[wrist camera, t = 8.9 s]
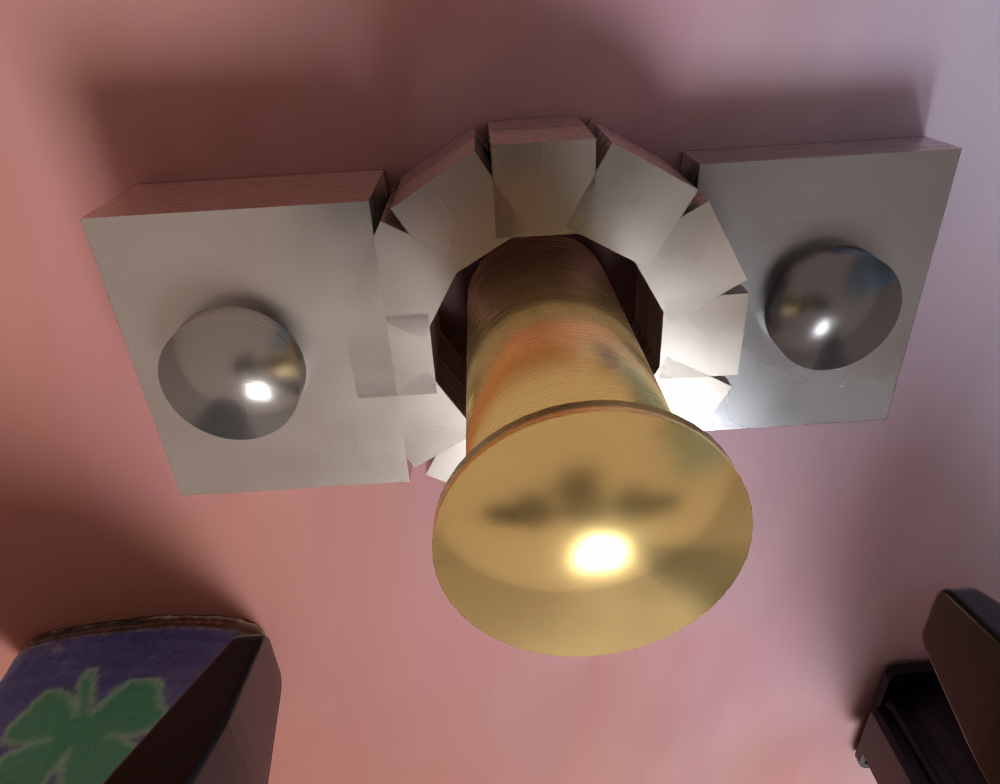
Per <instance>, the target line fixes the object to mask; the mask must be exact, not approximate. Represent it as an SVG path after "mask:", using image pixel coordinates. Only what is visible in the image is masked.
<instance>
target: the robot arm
mask: <svg viewBox="0 0 1000 784" xmlns="http://www.w3.org/2000/svg"><path fill="white" fill-rule="evenodd" d="M922 637H923V643H924V647H925V649H926V652H927V654H928V656H929V658H930V661H931V663H916V664H901V665H894V666H892V667H890V668H888V669H887V670H886V671H885V672H884V674H883V677H882V680H881V683H880V685H879V688H878V691H877V694H876V697H875V699H874V702H873V705H872V708H871V711H870V713H869V716H868V719H867V722H866V725H865V727H864V730H863V733H862V736H861V739H860V741H859V744H858V747H857V750H856V753H855V757H856V759H857V761H858V763H859V765H860V766H861V767H863V768H870V769H871V771H872V773H873V775H874V777H875V779H876V781H877V783H878V784H1000V603H999V602H998V601H996V600H994V599H993V598H991V597H989V596H988V595H986V594H985V593H983V592H981V591H979V590H977V589H975V588H971V587H957V588H944V589H941V590H940V591H939V592H938V593H937V594H936V596H935V598H934V601H933V603H932V606H931V608H930V611H929V614H928V616H927V619H926V621H925V624H924V627H923V632H922ZM280 696H281V673H280V670H279V667H278V664H277V661H276V658H275V655H274V652H273V648H272V645H271V642H270V640H269V638H268V637H267V636H266V635H265V634H253V635H240V636H237V637H235V638H233V639H232V640H231V641H230V642H229V643H228V644H227V645H226V646H225V647H224V648H223V649H222V651H221V652H220V653H219V654H218V655H217V656H216V657H215V658H214V659H213V661H212V662H211V663H210V664H209V665H208V666H207V667H206V668H205V670H204V671H203V672H202V673H201V674H200V675H199V676H198V677H197V678H196V680H195V681H194V682H193V683H192V684H191V685H190V686H189V687H188V688H187V690H186V691H185V692H184V693H183V694H182V695H181V696H180V697H179V699H178V700H177V701H176V702H175V703H174V704H173V705H172V706H171V707H170V709H169V710H168V711H167V712H166V713H165V714H164V715H163V716H162V717H161V719H160V720H159V721H158V722H157V723H156V724H155V725H154V726H153V728H152V729H151V730H150V731H149V732H148V733H147V734H146V735H145V736H144V738H143V739H142V740H141V741H140V742H139V743H138V744H137V745H136V746H135V748H134V749H133V750H132V751H131V752H130V753H129V754H128V755H127V757H126V758H125V759H124V760H123V761H122V762H121V763H120V764H119V765H118V767H117V768H116V769H115V770H114V771H113V772H112V773H111V774H110V775H109V777H108V778H107V779H106V780H105V781H104V782H103V783H102V784H268V780H269V773H270V766H271V759H272V752H273V745H274V738H275V731H276V724H277V717H278V710H279V703H280Z"/></svg>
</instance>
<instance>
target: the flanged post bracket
mask: <svg viewBox="0 0 1000 784" xmlns="http://www.w3.org/2000/svg"><path fill="white" fill-rule="evenodd" d="M488 135H489V149H488V148H487V146H486V144H485V143H484V141H483V140H482V138H481V136H480V135H479V133H478V132H477V130H476V129H475V127H474V126H473V127H472V128H470V129H469V130H467V131H466V132H465V133H463V134H462V135H460V136H459V137H457V138H456V139H455V140H453V141H452V142H450V143H449V144H447V145H446V146H445V147H443V148H442V149H440V150H439V151H437V152H436V153H435V154H433V155H432V156H430V157H429V158H427V159H426V160H425V161H423V162H422V163H420V164H419V165H417V166H416V167H415V168H413V169H412V170H410V171H409V172H407V173H406V174H405V175H403V176H402V178H401V181H400V184H399V186H398V189H397V188H395V187H393V189H392V192H391V194H390V196H389V199H387V191H386V184H385V176H384V169H383V170H367V171H350V172H334V173H317V174H301V175H284V176H268V177H252V178H235V179H219V180H202V181H186V182H169V183H153V184H138V185H136V186H135V187H133V188H131V189H130V190H128V191H126V192H124V193H123V194H121V195H119V196H118V197H116V198H114V199H113V200H111V201H109V202H107V203H106V204H104V205H102V206H101V207H99V208H97V209H96V210H94V211H92V212H91V213H89V214H87V215H85V216H84V217H82V218H80V220H81V222H82V225H83V228H84V231H85V233H86V236H87V239H88V242H89V244H90V247H91V250H92V253H93V255H94V258H95V261H96V264H97V266H98V269H99V272H100V274H101V277H102V280H103V283H104V285H105V288H106V291H107V294H108V296H109V299H110V302H111V305H112V307H113V310H114V313H115V316H116V318H117V321H118V324H119V327H120V329H121V332H122V335H123V338H124V340H125V343H126V346H127V348H128V351H129V354H130V357H131V359H132V362H133V365H134V368H135V370H136V373H137V376H138V379H139V381H140V384H141V387H142V390H143V392H144V395H145V398H146V401H147V403H148V406H149V409H150V411H151V414H152V417H153V420H154V422H155V425H156V428H157V431H158V433H159V436H160V439H161V442H162V444H163V447H164V450H165V453H166V455H167V458H168V461H169V464H170V466H171V469H172V472H173V475H174V477H175V480H176V483H177V485H178V488H179V491H180V494H181V496H187V495H203V494H218V493H234V492H250V491H265V490H281V489H297V488H312V487H328V486H344V485H360V484H375V483H391V482H407V481H410V476H411V468H412V465H413V466H414V467H417V466H419V465H421V464H422V463H424V462H426V461H427V464H426V475H428V476H431V477H433V478H436V479H439V480H441V481H444V482H447V480H448V479H449V477H450V476H451V474H452V473H453V471H454V470H455V468H456V467H457V466H458V464H459V463H460V462H461V461H462V460H463V459H464V458H465V456H466V375H467V364H466V363H465V362H464V360H463V359H462V358H461V356H460V355H459V354H458V352H457V351H456V350H455V349H454V347H453V346H452V345H451V343H450V342H449V341H448V340H447V338H446V337H445V336H444V334H443V333H442V332H441V330H440V324H439V315H438V309H439V307H440V305H441V303H442V301H443V299H444V297H445V295H446V293H447V291H448V289H449V287H450V285H451V283H452V281H453V279H454V277H455V275H456V273H457V272H459V271H460V270H462V269H463V268H465V267H467V266H468V265H470V264H471V263H473V262H474V261H476V260H478V259H479V258H481V257H482V256H484V255H485V254H487V253H488V252H490V251H492V250H493V249H495V248H496V247H498V246H499V245H501V244H503V243H504V242H506V241H507V240H509V239H510V238H513V237H530V236H546V235H562V234H581V235H583V236H585V237H587V238H589V239H591V240H593V241H595V242H597V243H599V244H601V245H602V246H604V247H606V248H608V249H610V250H612V251H614V252H616V253H618V254H620V255H622V256H624V257H626V258H628V259H630V260H632V261H634V263H635V265H636V267H637V285H636V304H635V318H634V320H633V321H632V323H631V324H630V326H631V328H632V330H633V332H634V334H635V336H636V339H637V341H638V343H639V345H640V347H641V349H642V351H643V353H644V355H645V357H646V360H647V362H648V364H649V366H650V368H651V370H652V372H653V374H654V376H655V378H656V381H657V383H658V385H659V387H660V389H661V391H662V393H663V395H664V397H665V399H666V402H667V404H668V406H669V408H670V410H671V412H672V413H674V414H677V415H679V416H680V417H682V418H684V419H686V420H688V421H690V422H692V423H694V424H695V425H696V426H698V427H699V428H701V429H702V430H703V431H711V430H727V429H743V428H759V427H774V426H790V425H806V424H822V423H838V422H853V421H869V420H885V419H887V415H888V411H889V408H890V404H891V401H892V397H893V393H894V390H895V386H896V383H897V379H898V376H899V372H900V368H901V365H902V361H903V358H904V354H905V350H906V347H907V343H908V340H909V336H910V333H911V329H912V325H913V322H914V318H915V315H916V311H917V307H918V304H919V300H920V297H921V293H922V290H923V286H924V282H925V279H926V275H927V272H928V268H929V264H930V261H931V257H932V254H933V250H934V247H935V243H936V239H937V236H938V232H939V229H940V225H941V221H942V218H943V214H944V211H945V207H946V204H947V200H948V196H949V193H950V189H951V186H952V182H953V178H954V175H955V171H956V168H957V164H958V161H959V157H960V153H961V150H962V148H959V147H956V146H953V145H950V144H947V143H944V142H941V141H937V140H934V139H931V138H928V137H911V138H895V139H878V140H862V141H845V142H829V143H812V144H796V145H779V146H763V147H746V148H730V149H713V150H697V151H683V154H682V167H681V174H680V173H679V172H677V171H676V170H675V169H674V168H673V167H672V166H671V165H669V164H668V163H667V162H666V161H665V160H663V159H662V158H660V157H658V156H656V155H654V154H653V153H651V152H649V151H647V150H645V149H644V148H642V147H640V146H638V145H637V144H635V143H633V142H631V141H629V140H628V139H626V138H624V137H622V136H620V135H619V134H617V133H615V132H613V131H612V130H610V129H608V128H606V127H604V126H603V125H601V124H599V123H597V122H595V121H594V120H592V119H591V120H590V122H589V123H588V125H587V127H586V126H585V125H584V124H583V122H582V121H581V120H580V119H579V118H578V117H577V116H565V117H549V118H532V119H516V120H499V121H488Z"/></svg>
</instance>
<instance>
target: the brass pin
mask: <svg viewBox="0 0 1000 784" xmlns="http://www.w3.org/2000/svg"><path fill="white" fill-rule="evenodd" d="M752 529H753V518H752V507H751V504H750V500H749V496H748V492H747V490H746V488H745V486H744V484H743V482H742V480H741V478H740V476H739V474H738V472H737V470H736V469H735V467H734V465H733V463H732V461H731V460H730V459H729V457H728V456H727V454H726V453H725V451H724V450H723V449H722V447H721V446H720V445H719V444H718V443H717V442H716V441H715V440H714V439H713V438H712V437H711V436H710V435H709V434H707V433H706V432H705V431H703V430H702V429H701V428H699V427H698V426H696V425H695V424H694V423H692V422H690V421H688V420H686V419H684V418H682V417H680V416H679V415H677V414H674V413H672V412H671V410H670V408H669V406H668V404H667V402H666V399H665V397H664V395H663V393H662V391H661V389H660V387H659V385H658V383H657V381H656V378H655V376H654V374H653V372H652V370H651V368H650V366H649V364H648V362H647V360H646V357H645V355H644V353H643V351H642V349H641V347H640V345H639V343H638V341H637V339H636V336H635V334H634V332H633V330H632V328H631V326H630V324H629V322H628V320H627V318H626V315H625V313H624V311H623V309H622V307H621V305H620V303H619V301H618V299H617V297H616V294H615V292H614V290H613V288H612V286H611V284H610V282H609V280H608V278H607V276H606V273H605V271H604V269H603V267H602V265H601V263H600V262H599V260H598V259H597V258H596V256H595V255H594V254H593V253H592V252H591V251H590V250H589V249H588V248H587V247H586V246H585V245H583V244H582V243H581V242H579V241H577V240H575V239H574V238H571V237H569V236H567V235H564V234H562V235H546V236H530V237H513V238H510V239H509V240H507V241H506V242H504V243H503V244H501V245H499V246H498V247H496V248H495V249H493V250H492V251H490V252H488V253H487V254H486V255H485V256H484V257H483V258H482V260H481V261H480V262H479V264H478V265H477V267H476V269H475V270H474V273H473V275H472V277H471V280H470V284H469V287H468V294H467V375H466V456H465V458H464V459H463V460H462V461H461V462H460V463H459V464H458V466H457V467H456V468H455V470H454V471H453V473H452V474H451V476H450V477H449V479H448V480H447V482H446V485H445V487H444V489H443V491H442V493H441V495H440V498H439V501H438V504H437V508H436V511H435V519H434V527H433V542H432V548H433V562H434V566H435V571H436V575H437V578H438V580H439V582H440V585H441V587H442V589H443V591H444V593H445V594H446V596H447V598H448V599H449V601H450V602H451V604H452V605H453V606H454V607H455V608H456V609H457V611H458V612H459V613H460V614H461V615H462V616H463V617H464V618H466V619H467V620H468V621H469V622H470V623H471V624H472V625H474V626H475V627H477V628H478V629H480V630H481V631H483V632H484V633H486V634H487V635H489V636H491V637H493V638H495V639H497V640H499V641H501V642H504V643H506V644H509V645H512V646H514V647H517V648H520V649H524V650H528V651H532V652H536V653H542V654H548V655H556V656H571V657H573V656H596V655H605V654H612V653H617V652H622V651H627V650H630V649H634V648H637V647H641V646H644V645H647V644H650V643H652V642H655V641H657V640H660V639H663V638H665V637H667V636H669V635H671V634H673V633H675V632H677V631H679V630H680V629H682V628H684V627H685V626H687V625H688V624H690V623H692V622H693V621H695V620H696V619H697V618H699V617H700V616H701V615H702V614H704V613H705V612H706V611H708V610H709V609H710V608H711V607H712V606H713V605H714V604H715V603H716V602H717V601H718V600H719V599H720V598H721V597H722V596H723V595H724V594H725V592H726V591H727V590H728V589H729V587H730V586H731V585H732V584H733V582H734V580H735V579H736V577H737V576H738V574H739V572H740V571H741V569H742V566H743V564H744V562H745V560H746V557H747V555H748V551H749V547H750V544H751V540H752Z"/></svg>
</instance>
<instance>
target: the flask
mask: <svg viewBox="0 0 1000 784" xmlns="http://www.w3.org/2000/svg"><path fill="white" fill-rule="evenodd" d="M253 634H265V632H264V631H263V630H262V629H260V628H259V627H258V626H257V624H255V623H249V622H246V621H244V620H242V619H240V618H238V619H234V618H229V617H221V616H214V617H212V616H206V617H205V616H202V617H201V616H190V615H185V616H184V615H182V616H181V617H179V616H177V617H176V616H171V615H168V616H156V617H151V618H138V619H134V620H132V621H126V622H124V621H123V622H122V621H114V622H107V623H101V624H90V625H89V626H83V627H82V626H80V627H79V626H77V627H75V628H72V627H71V628H69V629H63V630H62V629H58V630H52V632H48V633H46V634H44V635H42V636H39V637H35V638H34V639H33V640H32V641H29V643H28V644H27V645H26V646H25V647H24V648H23V649H22V650H21V651H20V653H19V654H18V655H17V656H16V658H15V659H14V660H13V662H12V664H11V666H10V667H9V669H8V671H7V673H6V674H5V676H4V677H3V679H2V680H1V682H0V784H102V783H103V782H104V781H105V780H106V779H107V778H108V777H109V775H110V774H111V773H112V772H113V771H114V770H115V769H116V768H117V767H118V765H119V764H120V763H121V762H122V761H123V760H124V759H125V758H126V757H127V755H128V754H129V753H130V752H131V751H132V750H133V749H134V748H135V746H136V745H137V744H138V743H139V742H140V741H141V740H142V739H143V738H144V736H145V735H146V734H147V733H148V732H149V731H150V730H151V729H152V728H153V726H154V725H155V724H156V723H157V722H158V721H159V720H160V719H161V717H162V716H163V715H164V714H165V713H166V712H167V711H168V710H169V709H170V707H171V706H172V705H173V704H174V703H175V702H176V701H177V700H178V699H179V697H180V696H181V695H182V694H183V693H184V692H185V691H186V690H187V688H188V687H189V686H190V685H191V684H192V683H193V682H194V681H195V680H196V678H197V677H198V676H199V675H200V674H201V673H202V672H203V671H204V670H205V668H206V667H207V666H208V665H209V664H210V663H211V662H212V661H213V659H214V658H215V657H216V656H217V655H218V654H219V653H220V652H221V651H222V649H223V648H224V647H225V646H226V645H227V644H228V643H229V642H230V641H231V640H232V639H233V638H235V637H237V636H240V635H253ZM265 635H266V634H265Z"/></svg>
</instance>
